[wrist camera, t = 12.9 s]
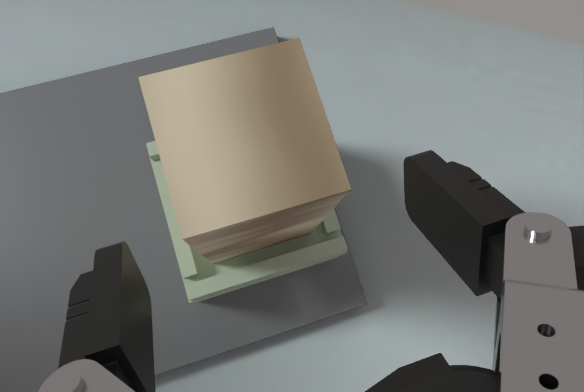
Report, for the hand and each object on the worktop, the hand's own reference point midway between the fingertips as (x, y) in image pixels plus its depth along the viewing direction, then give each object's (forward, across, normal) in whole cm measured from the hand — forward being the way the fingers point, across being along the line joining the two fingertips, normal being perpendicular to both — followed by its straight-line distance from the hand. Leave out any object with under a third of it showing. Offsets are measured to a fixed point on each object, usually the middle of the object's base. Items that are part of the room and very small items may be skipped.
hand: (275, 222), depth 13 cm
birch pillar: (+9, 0, +5) cm, 10 cm away
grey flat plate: (+14, +5, +7) cm, 17 cm away
